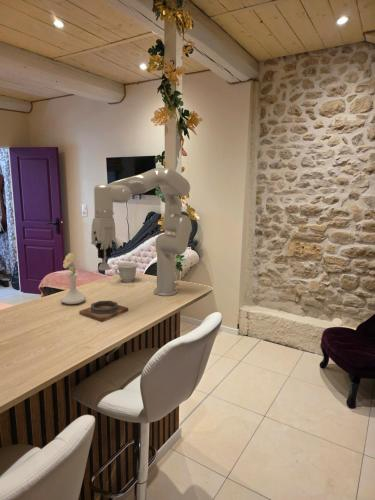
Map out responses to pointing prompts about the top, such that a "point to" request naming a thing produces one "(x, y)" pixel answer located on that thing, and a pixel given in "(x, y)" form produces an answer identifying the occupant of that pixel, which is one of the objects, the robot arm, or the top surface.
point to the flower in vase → (72, 284)
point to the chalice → (105, 245)
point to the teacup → (126, 271)
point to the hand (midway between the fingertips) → (104, 257)
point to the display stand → (103, 310)
